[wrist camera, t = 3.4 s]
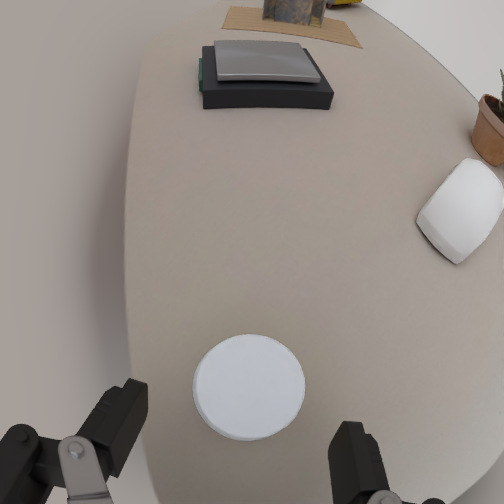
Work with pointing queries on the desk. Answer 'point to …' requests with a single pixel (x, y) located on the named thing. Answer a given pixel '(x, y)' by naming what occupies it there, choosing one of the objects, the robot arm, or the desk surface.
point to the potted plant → (490, 129)
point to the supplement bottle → (248, 387)
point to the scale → (259, 89)
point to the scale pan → (263, 61)
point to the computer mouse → (462, 210)
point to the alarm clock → (341, 2)
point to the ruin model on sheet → (291, 20)
